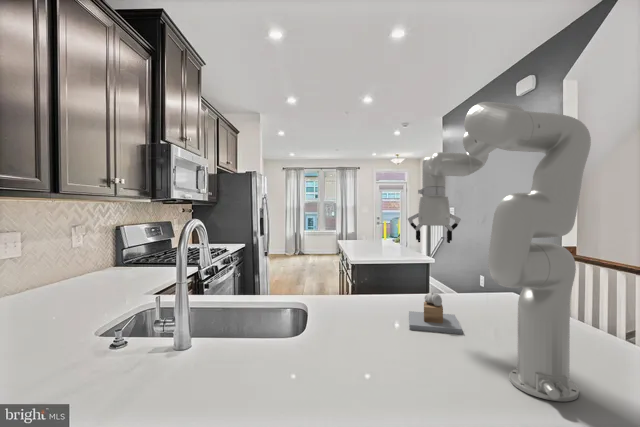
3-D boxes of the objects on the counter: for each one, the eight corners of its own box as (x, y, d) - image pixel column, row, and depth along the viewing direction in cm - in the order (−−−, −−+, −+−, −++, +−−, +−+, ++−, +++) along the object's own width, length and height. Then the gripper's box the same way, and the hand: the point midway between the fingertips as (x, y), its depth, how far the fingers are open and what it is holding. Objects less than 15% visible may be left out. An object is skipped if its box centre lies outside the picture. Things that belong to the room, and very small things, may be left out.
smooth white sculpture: (424, 304, 120) (437, 300, 120) (430, 310, 112) (445, 306, 112) (420, 293, 120) (434, 288, 120) (426, 298, 112) (441, 293, 112)
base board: (461, 334, 105) (461, 329, 105) (409, 329, 109) (409, 324, 109) (454, 318, 121) (454, 314, 121) (409, 315, 125) (409, 311, 125)
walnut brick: (442, 323, 111) (443, 308, 111) (424, 321, 112) (424, 306, 112) (441, 317, 117) (441, 303, 117) (423, 315, 119) (423, 301, 119)
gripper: (407, 192, 113) (407, 242, 113) (462, 191, 109) (462, 244, 109) (407, 194, 121) (407, 241, 121) (458, 193, 116) (458, 242, 116)
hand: (433, 242), depth 115 cm, fingers open, 9 cm apart
